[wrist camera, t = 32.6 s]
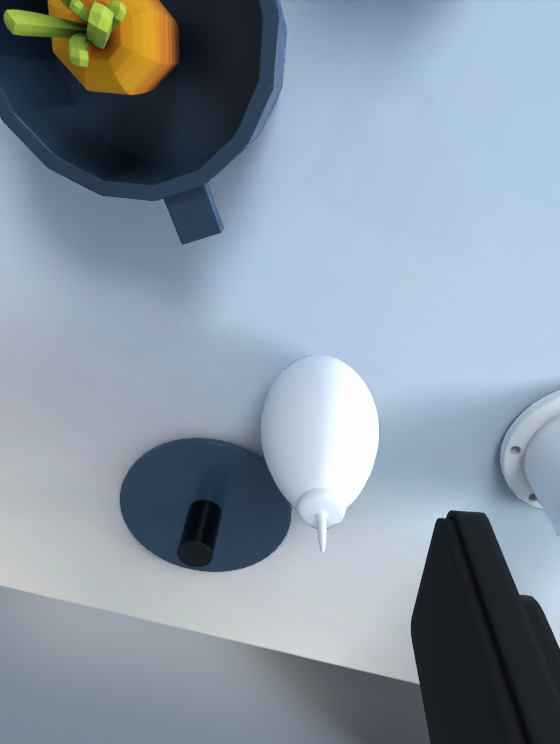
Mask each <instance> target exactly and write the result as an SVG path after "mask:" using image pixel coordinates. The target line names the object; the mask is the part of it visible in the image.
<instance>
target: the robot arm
mask: <svg viewBox="0 0 560 744" xmlns="http://www.w3.org/2000/svg"><path fill="white" fill-rule="evenodd" d="M500 465H501V470H502V472H503V475H504V477H505V480H506V481H507V483H508V485H509V487H510V488H511V490H512V491H513V492H514V493H515V494H516V495H517V496H518V497H519V498H520V499H522V500H523V501H524V502H526V503H528V504H530V505H532V506H534V507H537V508H539V509H543V510H544V511H545V513H546V515H547V517H548V519H549V521H550V522H551V524H552V526H553V528H554V530H555V532H556V533H557V535H558V537H559V539H560V390H558V391H555V392H553V393H550V394H548V395H546V396H544V397H543V398H541V399H539V400H538V401H536V402H534V403H533V404H532V405H531V406H529V407H528V408H527V409H526V410H524V411H523V412H522V413H521V414H520V415H519V416H518V417H517V419H516V420H515V421H514V422H513V423H512V425H511V426H510V428H509V430H508V431H507V433H506V434H505V437H504V440H503V442H502V445H501V451H500ZM411 637H412V644H413V649H414V655H415V660H416V666H417V671H418V677H419V682H420V688H421V693H422V698H423V704H424V709H425V714H426V720H427V725H428V731H429V737H430V742H431V744H560V648H559V646H558V644H557V641H556V639H555V637H554V635H553V632H552V630H551V628H550V626H549V623H548V621H547V619H546V616H545V614H544V612H543V610H542V608H541V607H540V605H539V603H538V602H537V601H536V600H535V599H534V598H533V597H531V596H528V595H519V593H518V590H517V588H516V585H515V583H514V581H513V578H512V576H511V573H510V571H509V568H508V566H507V563H506V561H505V559H504V556H503V554H502V551H501V549H500V546H499V544H498V541H497V539H496V536H495V534H494V532H493V529H492V527H491V524H490V522H489V519H488V518H487V516H486V515H485V514H484V513H481V512H466V511H449V512H448V514H447V517H446V519H444V518H438V519H437V521H436V523H435V527H434V531H433V535H432V539H431V543H430V547H429V551H428V555H427V559H426V563H425V567H424V571H423V575H422V579H421V583H420V587H419V591H418V595H417V599H416V603H415V607H414V611H413V615H412V619H411Z"/></svg>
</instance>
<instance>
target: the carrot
mask: <svg viewBox="0 0 560 744" xmlns="http://www.w3.org/2000/svg"><path fill="white" fill-rule="evenodd" d="M48 10H49V15H44V14H40V13H35V12H30V11H23V10H6V11H5V13H4V22H5V24H6V26H7V28H8V29H9V30H10V31H11V33H12V34H15V35H21V36H37V37H51V38H52V47H53V53H54V54H55V55H56V56H57V57H58V58H59V59H60V60H61V61H62V63H63V64H64V65H65V66H66V67H67V68H68V69H69V70H70V72H71V73H72V74H73V75H74V76H75V77H76V78H77V79H78V80H79V82H80V83H81V84H82V85H83V86H84V87H85V88H86V89H87V90H88V91H92V92H103V93H114V94H125V95H136V94H142V93H146V92H149V91H152V90H154V89H155V88H156V87H157V86H158V85H159V84H160V83H161V81H162V80H163V79H164V78H165V77H166V76H167V75H168V74H169V73H170V72H171V71H172V69H173V68H174V67H175V66H176V65H177V64H178V63H179V27H178V25H177V22H176V21H175V20H174V18H173V17H172V16H171V15H170V13H169V12H168V11H167V9H166V8H165V7H164V6H163V4H162V3H161V2H160V1H159V0H48Z"/></svg>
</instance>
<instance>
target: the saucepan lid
mask: <svg viewBox="0 0 560 744" xmlns="http://www.w3.org/2000/svg"><path fill="white" fill-rule="evenodd" d="M120 506H121V512H122V515H123V518H124V521H125V523H126V525H127V527H128V528H129V530H130V531H131V533H132V534H133V536H134V537H135V538H136V539H137V540H138V541H139V542H140V543H141V544H142V545H143V546H144V547H145V548H146V549H148V550H149V551H151V552H152V553H153V554H155V555H157V556H158V557H160V558H162V559H164V560H166V561H168V562H170V563H172V564H175V565H178V566H181V567H184V568H188V569H192V570H199V571H208V572H223V571H232V570H237V569H241V568H245V567H248V566H251V565H253V564H255V563H257V562H259V561H261V560H263V559H264V558H266V557H268V556H269V555H270V554H271V553H273V552H274V551H275V550H276V549H277V548H278V546H279V545H280V544H281V543H282V541H283V540H284V538H285V536H286V534H287V532H288V529H289V526H290V521H291V504H290V503H289V502H288V500H287V499H286V498H285V497H284V495H283V494H282V493H281V491H280V490H279V488H278V487H277V485H276V483H275V481H274V479H273V477H272V475H271V473H270V471H269V468H268V466H267V463H266V462H265V461H264V460H263V459H261V458H260V457H258V456H257V455H255V454H254V453H252V452H250V451H248V450H246V449H244V448H242V447H239V446H237V445H234V444H231V443H228V442H224V441H220V440H214V439H205V438H190V439H181V440H175V441H171V442H168V443H164V444H162V445H159V446H157V447H155V448H153V449H151V450H150V451H148V452H146V453H145V454H143V455H142V456H141V457H140V458H139V459H138V460H137V461H136V462H135V463H134V464H133V465H132V466H131V468H130V469H129V471H128V473H127V474H126V476H125V479H124V481H123V484H122V487H121V492H120Z"/></svg>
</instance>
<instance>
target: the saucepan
mask: <svg viewBox="0 0 560 744" xmlns="http://www.w3.org/2000/svg"><path fill="white" fill-rule="evenodd" d="M159 1H160V2H161V3H162V4H163V6H164V7H165V8H166V9H167V11H168V12H169V13H170V15H171V16H172V17H173V18H174V20H175V21H176V22H177V25H178V27H179V63H178V64H177V65H176V66H175V67H174V68H173V69H172V71H171V72H170V73H169V74H168V75H167V76H166V77H165V78H164V79H163V80H162V81H161V83H160V84H159V85H158V86H157V87H156V88H155V89H154V90H152V91H149V92H146V93H142V94H136V95H125V94H114V93H103V92H92V91H88V90H87V89H86V88H85V87H84V86H83V85H82V84H81V83H80V82H79V80H78V79H77V78H76V77H75V76H74V75H73V74H72V73H71V72H70V70H69V69H68V68H67V67H66V66H65V65H64V64H63V63H62V61H61V60H60V59H59V58H58V57H57V56H56V55H55V54H54V53H53V47H52V38H51V37H37V36H21V35H15V34H12V33H11V31H10V30H9V29H8V28H7V26H6V24H5V22H4V13H5V11H6V10H23V11H30V12H35V13H40V14H44V15H49V10H48V0H0V117H1V119H2V120H3V122H4V123H5V124H6V125H7V126H8V127H9V128H10V129H11V130H12V131H13V132H14V133H15V134H16V135H17V136H18V137H19V138H20V139H21V141H22V142H23V143H24V144H25V145H26V146H27V147H28V148H29V149H30V150H31V151H32V152H33V153H34V154H35V155H36V156H37V157H38V158H39V159H40V160H41V161H42V162H43V163H44V164H45V165H46V167H48V168H49V169H51V170H53V171H55V172H56V173H58V174H60V175H62V176H64V177H66V178H68V179H70V180H72V181H74V182H76V183H78V184H80V185H82V186H84V187H85V188H87V189H89V190H91V191H93V192H95V193H97V194H99V195H102V196H110V197H120V198H129V199H139V200H149V201H155V200H156V201H157V200H160V199H163V198H164V201H165V203H166V206H167V208H168V211H169V213H170V216H171V218H172V221H173V223H174V226H175V228H176V231H177V233H178V236H179V238H180V241H181V243H182V244H186V243H189V242H193V241H196V240H199V239H202V238H206V237H209V236H212V235H215V234H219V233H221V232H222V230H223V229H224V227H223V225H222V222H221V219H220V216H219V213H218V211H217V208H216V205H215V202H214V199H213V197H212V194H211V191H210V188H209V185H208V182H210V181H211V180H212V179H213V178H214V177H215V176H216V175H217V174H218V173H219V172H220V171H221V170H223V169H224V168H225V167H226V166H227V165H228V164H229V163H230V162H231V161H232V160H233V159H234V158H236V157H237V156H238V155H239V154H240V153H241V152H242V151H243V150H244V149H245V148H246V147H247V146H248V145H249V144H250V143H251V142H252V141H253V140H254V139H255V138H256V137H257V136H258V135H259V134H260V133H261V132H262V129H263V127H264V125H265V123H266V121H267V119H268V116H269V114H270V112H271V111H272V108H273V106H274V104H275V101H276V99H277V97H278V95H279V93H280V91H281V88H282V84H283V72H284V62H285V47H286V35H287V31H286V24H285V21H284V17H283V13H282V9H281V5H280V1H279V0H159Z"/></svg>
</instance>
